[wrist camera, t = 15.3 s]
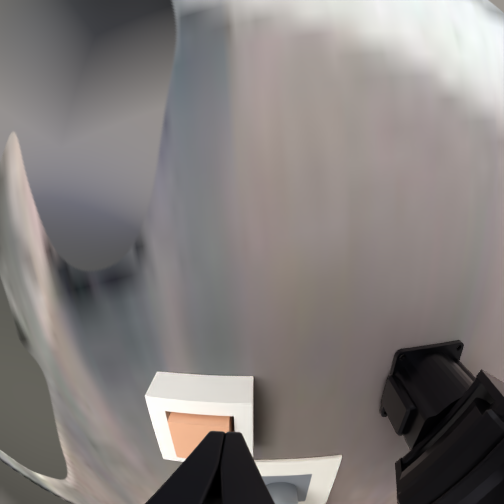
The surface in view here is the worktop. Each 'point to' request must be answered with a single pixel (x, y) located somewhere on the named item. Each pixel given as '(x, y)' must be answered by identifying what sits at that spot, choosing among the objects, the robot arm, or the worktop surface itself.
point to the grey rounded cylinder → (283, 493)
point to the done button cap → (194, 430)
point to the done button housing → (200, 403)
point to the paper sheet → (303, 475)
